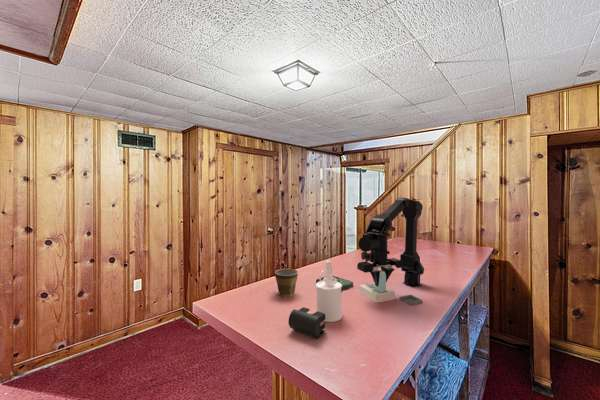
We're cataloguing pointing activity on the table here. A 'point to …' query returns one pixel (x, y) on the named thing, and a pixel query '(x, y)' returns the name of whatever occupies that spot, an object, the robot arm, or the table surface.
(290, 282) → the olive plant pot
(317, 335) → the end cap
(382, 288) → the plug
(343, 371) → the table surface
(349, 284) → the disk drive
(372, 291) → the port block
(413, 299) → the holster
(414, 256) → the robot arm
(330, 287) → the white pump bottle
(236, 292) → the table surface
